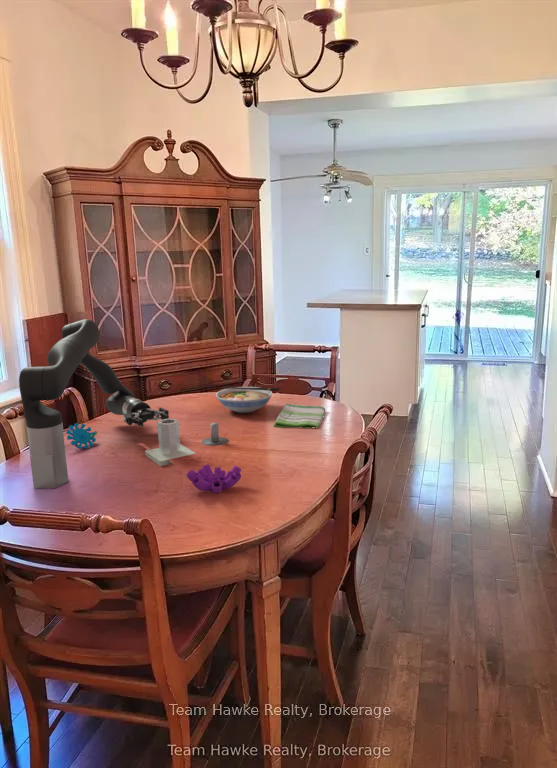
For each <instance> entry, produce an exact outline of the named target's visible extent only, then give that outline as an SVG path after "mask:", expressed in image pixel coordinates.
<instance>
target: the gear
mask: <svg viewBox="0 0 557 768" xmlns="http://www.w3.org/2000/svg"><path fill="white" fill-rule="evenodd" d="M79 425H80V427H79ZM85 427H86V424H85V423H81V424H79V423H77V422H75V423H74V425H73V424H70V425H69V426H68V429H67V430H66V432H65V434H67V436H66V439H67V440H68V441H70V440H71V441H70V444H71V446H76V448H77V449H82V447H83V449H84V450H87V449H89V447H93V446H94V445H95V442H96V441H97V438H95V436H97V434H98V431H97V430H94V431H93V432H91V431H92V428H91V426H88V427H87V428H85ZM83 444H84V446H83Z"/></svg>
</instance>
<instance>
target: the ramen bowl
mask: <svg viewBox="0 0 557 768" xmlns="http://www.w3.org/2000/svg"><path fill="white" fill-rule="evenodd" d="M220 389H221V390H219V391H217V392H216V394H215V397H216V398H217V400H218V401H219V403H220V404H221V405H222V406H223V407H225V409H228V410H230V411H233V412H236V413H238V414H248V413H249V414H250V413H253V412H254V411H257V410H259V409H262V408H263V407H265V406H266V405H267V404H268V403H269V401H270V400H271V397H272V395H273V392H274V391H275V392H279V390H280V387H257V386H239V387H238V386H237V387H227V386H222V387H220Z"/></svg>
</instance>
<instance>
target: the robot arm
mask: <svg viewBox="0 0 557 768" xmlns="http://www.w3.org/2000/svg"><path fill="white" fill-rule="evenodd" d="M100 335H101V334H100V329H99V327H98V325H97V323H96V322H95V321H94V320H92V319H89V318H87V319H81V320H78V321H75V322H71V323H68V324H65V325H64V326H63V327H62V328H61V337H62V338H61V339H60V340H58V341H57V342H56V343H55V344H54V345H53V346H52V347H51V348H50V349H49V352H48V354H47V364H48V366H26V367H24V368H22V369H21V371H20V372H19V377H18V384H19V385H18V386H19V392H20V398H21V403H22V409H23V417H24V419H25V424H26V433H27V441H28V449H29V459H30V466H31V467H30V469H31V476H32V484H33V485H32V486H33V489H56V488H58V487H59V486H63V485H64V484H67V483H68V481H69V472H68V464H67V463H68V462H67V455H66V454H67V453H66V445H65V436H64V435H65V434H64V426H63V415H62V413H61V412H60V411H59V410H57V409H53V408H51V407H49V406H47V405H46V404H44V403H42V402H41V401H54V400H58V399H60V398H61V397H62V396H63V394H64V392H65V390H66V387H67V385H68V384H69V381H70V379H71V377H72V375H73V374H74V372H75V371H76V370H77V368H79V366H80V365H81V364H82V365H83V366H84V367H85V369H86V370H88V372H89V373H90V374H91V376H92V377H93V378H94V380H95V381H96V383H97V384H98V386H99V388H100V389H101V391H102V392H103V393H104V394H107V395H110V396H109V397H108V398H107V399H106V400H105V407H106V408H107V411H108V412H110V413H111V414H113V415H116V416H117V415H118V416H123V422H124V423H126V424H127V425H128V426H132V425H133V424H134V425H135V426H136V425H137V426H139V427H144V423H146V422H148V421H159V420H163V419H170V415H169V412H170V411H169V410H168V409H166V408H163V407H158V409H153V408H151V406H150V405H149V404H148V403H147V402H144V401H143V400H141V399H139V398H136V397H135V395H134V393H133V392H132V391H131V390H130V389H129V388H127V386H125V385H124V384H123V383H122V382H121V380H120V379H119V378H118V375H116V373H115V371H114V369H113V368H112V367H111V366H110V365H109V364H108V363H107V362H105V361H103V360H101V359H99V358H97V357H95V356H94V355H92V354H91V353H90V350H91V349H93V347H95V346H96V345H97V344H98V342H99V341H100ZM111 394H112V395H111Z"/></svg>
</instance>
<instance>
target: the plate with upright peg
mask: <svg viewBox="0 0 557 768" xmlns="http://www.w3.org/2000/svg"><path fill="white" fill-rule="evenodd" d="M195 454H197V453H196V452H195V451H193V450H191V449H190V448H188V447H186V446H185V445H183V444H182V443H180V452H179V453H178V454H174V455H162V454H160V453H159V447H157V448H151V449H146V450H145V451H144V455H145V456H146V457H147V458H149V459H150V460H151V461H153V462H154V463H155V464H157V465H158V466H159V467H162V466H167V465H171V464H173V462H171V460H174V459H177V458H181V457H185V456H191V455H195ZM169 460H170V461H169Z"/></svg>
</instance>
